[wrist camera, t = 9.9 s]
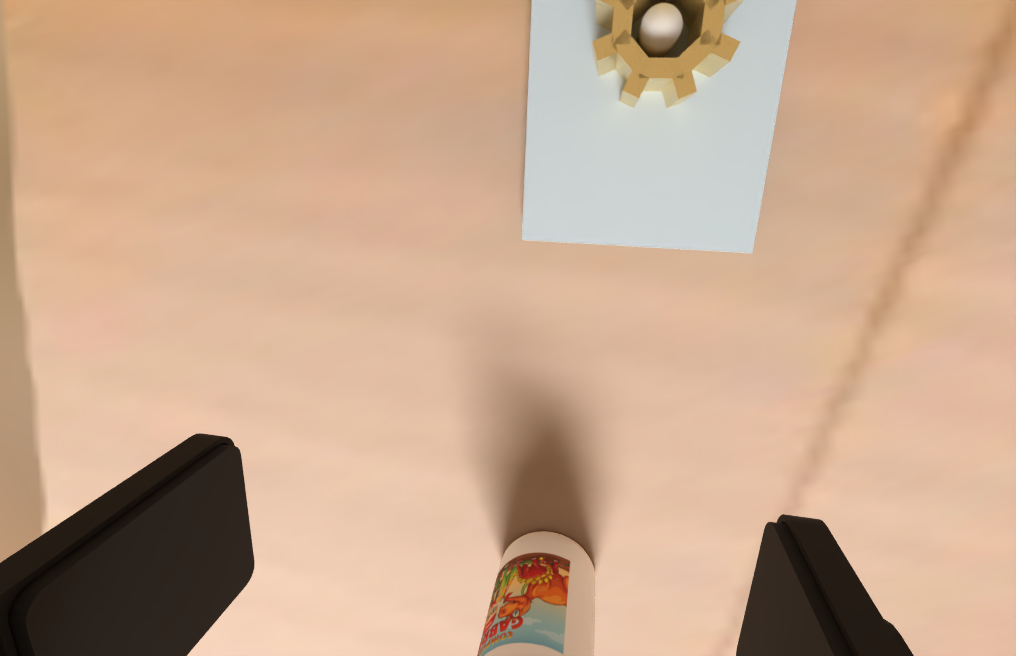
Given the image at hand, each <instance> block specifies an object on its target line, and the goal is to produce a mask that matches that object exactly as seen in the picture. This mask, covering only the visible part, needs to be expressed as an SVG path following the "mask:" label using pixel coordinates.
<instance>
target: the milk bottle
mask: <svg viewBox="0 0 1016 656" xmlns="http://www.w3.org/2000/svg"><path fill="white" fill-rule="evenodd" d="M594 626H595V571H594V567H593V564H592V562H591V560H590V558H589V556H588V555H587V553H586V552H585V551H584V549H583V548H582V547H581V546H580V545H579V544H578V543H576V542H575V541H573V540H572V539H570V538H568V537H566V536H564V535H562V534H558V533H554V532H547V531H540V532H532V533H528V534H525V535H523V536H521V537H519V538H518V539H517V540H515V541H514V542H513V543H512V544H511V545H510V546H509V547H508V548H507V549H506V551H505V553H504V555H503V558H502V561H501V564H500V568H499V572H498V575H497V579H496V583H495V587H494V591H493V595H492V599H491V603H490V607H489V610H488V614H487V618H486V622H485V626H484V630H483V635H482V639H481V643H480V647H479V651H478V655H477V656H594Z"/></svg>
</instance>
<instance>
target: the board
mask: <svg viewBox="0 0 1016 656" xmlns="http://www.w3.org/2000/svg"><path fill="white" fill-rule="evenodd" d="M796 1H797V0H744V1H743V2H742V3H741V4H740V6H739V7H738V8H737V9H736V10H735V11H734V12H733V14H732V15H731V16H730V17H729V18H728V19H727V21H726V22H725V23H724V24H723V26H722V33H723V34H725V35H727V36H730V37H732V38H734V39H736V40H738V41H740V44H739V46H738V48H737V50H736V52H735V54H734V55H733V57H732V59H731V61H730V62H729V63H728V64H727V65H725V66H724V67H723V68H722V69H720V70H719V71H718V72H716V73H715V74H714V75H713V76H711V77H707V76H705V75H703V74H701V73H699V72H697V71H695V70H694V71H693V72H692V74H693V78H694V82H695V86H696V89H697V92H696V93H695V94H693V95H692V96H691V97H689V98H688V99H687V100H685V101H684V102H683V103H680V104H678V105H675V106H673V107H670V108H668V109H667V108H666V105H665V101H664V98H663V94H662V92H656V91H643V92H642V94H641V96H640V98H639V100H638V101H637V103H636V105H635V107H634V108H632V107H630V106H628V105H626V104H624V103H622V102H620V98H621V94H622V91H623V89H624V86H625V84H626V82H625V81H624V79H623V78H622V77H621V76H620V74H619V73H618V72H617V71H616V70H613V71H611V72H608V73H606V74H603V75H601V76H598V73H597V69H596V66H595V63H594V57H593V47H592V42H593V41H595V40H597V39H599V38H602V37H604V36H606V35H608V34H611V33H612V31H610V30H608V29H606V28H604V27H602V26H600V25H598V24H597V23H596V3H595V0H532V7H531V32H530V56H529V81H528V105H527V130H526V154H525V178H524V203H523V227H522V240H531V241H548V242H565V243H583V244H600V245H617V246H634V247H651V248H669V249H686V250H703V251H720V252H737V253H753V247H754V242H755V236H756V230H757V224H758V219H759V213H760V207H761V202H762V196H763V190H764V184H765V179H766V173H767V167H768V161H769V156H770V150H771V144H772V138H773V133H774V127H775V121H776V116H777V110H778V104H779V98H780V93H781V87H782V81H783V75H784V70H785V64H786V58H787V53H788V47H789V41H790V35H791V30H792V24H793V18H794V12H795V7H796ZM688 30H689V29H688V27H687V26H686V25H685V24H684V22H683V20H682V16H681V13H680V12H679V10H678V9H677V8H676V7H675V6H673V5H671V4H668V3H660V4H657V5H655V6H653V7H651V8H650V9H649V10H648V11H647V12H646V13H645V14H644V15H643V16H642V17H641V18H640V19H639V20H638V21H637V22H636V23H635V24H634V25H633V26H632V29H631V36H632V38H633V39H634V40H635V41H636V43H637V44H638V45H639V46H640V47H641V49H642V50H643V51H644V52H645V54H646V55H647V56H648V57H649V58H678V57H679V56H680V55H681V54H682V53H683V52H684V51H685V50H686V47H687V38H688Z"/></svg>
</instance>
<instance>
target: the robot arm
mask: <svg viewBox="0 0 1016 656" xmlns="http://www.w3.org/2000/svg"><path fill="white" fill-rule="evenodd" d="M253 570H254V555H253V547H252V539H251V531H250V523H249V515H248V507H247V499H246V491H245V483H244V475H243V467H242V459H241V453H240V450H239V449H238V447H235V446H234V443H233V441H232V440H231V439H230V438H228V437H223V436H216V435H208V434H195V435H193V436H191V437H190V438H188V439H187V440H185V441H184V442H182V443H181V444H179V445H177V446H176V447H174V448H173V449H171V450H170V451H168V452H167V453H165V454H164V455H162V456H161V457H159V458H158V459H156V460H155V461H153V462H152V463H150V464H149V465H147V466H146V467H144V468H143V469H141V470H140V471H138V472H137V473H135V474H134V475H132V476H131V477H129V478H128V479H126V480H125V481H123V482H122V483H120V484H119V485H117V486H116V487H114V488H113V489H111V490H110V491H108V492H107V493H105V494H104V495H102V496H101V497H99V498H97V499H96V500H94V501H93V502H91V503H90V504H88V505H87V506H85V507H84V508H82V509H81V510H79V511H78V512H76V513H75V514H73V515H72V516H70V517H69V518H67V519H66V520H64V521H63V522H61V523H60V524H58V525H57V526H55V527H54V528H52V529H51V530H49V531H48V532H46V533H45V534H43V535H42V536H40V537H39V538H37V539H36V540H34V541H33V542H31V543H30V544H28V545H27V546H25V547H24V548H22V549H21V550H19V551H18V552H16V553H15V554H13V555H11V556H10V557H8V558H7V559H6V560H4V561H2V562H1V563H0V656H187V655H188V653H189V652H190V651H191V650H192V649H193V647H194V646H195V645H196V644H197V643H198V642H199V640H200V639H201V638H202V637H203V636H204V635H205V633H206V632H207V631H208V630H209V629H210V627H211V626H212V625H213V624H214V623H215V622H216V620H217V619H218V618H219V617H220V616H221V614H222V613H223V612H224V611H225V610H226V609H227V607H228V606H229V605H230V604H231V603H232V601H233V600H234V599H235V598H236V597H237V596H238V594H239V593H240V592H241V591H242V590H243V589H244V587H245V586H246V585H247V583H248V582H249V580H250V578H251V576H252V573H253ZM736 656H914V655H913V654H912V652H911V651H910V649H909V647H908V646H907V644H906V643H905V641H904V639H903V638H902V636H901V635H900V633H899V632H898V631H897V630H896V628H895V627H894V626H893V625H892V624H891V623H889V622H888V621H886V620H885V619H883V617H882V616H881V614H880V612H879V611H878V609H877V608H876V606H875V604H874V603H873V601H872V599H871V598H870V596H869V594H868V593H867V591H866V589H865V588H864V586H863V585H862V583H861V581H860V580H859V578H858V576H857V575H856V573H855V571H854V570H853V568H852V567H851V565H850V563H849V562H848V560H847V558H846V557H845V555H844V553H843V552H842V550H841V549H840V547H839V545H838V544H837V542H836V540H835V539H834V537H833V535H832V534H831V532H830V530H829V529H828V527H827V526H826V524H825V523H824V522H823V521H822V520H819V519H812V518H805V517H798V516H791V515H784V514H783V515H781V516H780V517H779V519H778V521H777V523H774V522H768V523H767V524H766V526H765V529H764V533H763V538H762V542H761V546H760V551H759V555H758V559H757V564H756V568H755V572H754V577H753V581H752V585H751V589H750V594H749V598H748V602H747V607H746V611H745V615H744V620H743V624H742V628H741V633H740V637H739V641H738V646H737V652H736Z"/></svg>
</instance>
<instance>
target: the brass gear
mask: <svg viewBox="0 0 1016 656" xmlns="http://www.w3.org/2000/svg"><path fill="white" fill-rule="evenodd" d="M743 1H744V0H595V3H596V23H597V24H598V25H600V26H602V27H604V28H606V29H608V30H610V31H612V33H611V34H608V35H606V36H604V37H602V38H599V39H597V40H595V41H593V42H592V47H593V57H594V63H595V66H596V69H597V73H598V76H601V75H603V74H606V73H608V72H611V71H613V70H616V71H617V72H618V73H619V74H620V76H621V77H622V78H623V79H624V81H625V82H626V84H625V86H624V89H623V91H622V94H621V98H620V102H622V103H624V104H626V105H628V106H630V107H632V108H634V107H635V105H636V103H637V101H638V100H639V98H640V96H641V94H642V92H643V91H656V92H662V94H663V98H664V101H665V105H666V108H667V109H668V108H670V107H673V106H675V105H678V104H680V103H683V102H684V101H685V100H687V99H688V98H689V97H691V96H692V95H693V94H695V93H696V92H697V89H696V86H695V82H694V78H693V74H692V72H693V71H694V70H695V71H697V72H699V73H701V74H703V75H705V76H707V77H711V76H713V75H714V74H715V73H716V72H718V71H719V70H720V69H722V68H723V67H724V66H725V65H727V64H728V63H729V62H730V61H731V59H732V57H733V55H734V54H735V52H736V50H737V48H738V46H739V44H740V41H738V40H736V39H734V38H732V37H730V36H727V35H725V34H723V33H722V26H723V24H724V23H725V22H726V21H727V19H728V18H729V17H730V16H731V15H732V14H733V12H734V11H735V10H736V9H737V8H738V7H739V6H740V4H741V3H742V2H743ZM660 3H668V4H671V5H673V6H675V7H676V8H677V9H678V10H679V12H680V13H681V16H682V20H683V22H684V24H685V25H686V26H687V27H688V29H689V30H688V38H687V47H686V50H685V51H684V52H683V53H682V54H681V55H680V56H679V57H678V58H649V57H648V56H647V55H646V54H645V52H644V51H643V50H642V49H641V47H640V46H639V45H638V44H637V43H636V41H635V40H634V39H633V38H632V36H631V29H632V26H633V25H634V24H635V23H636V22H637V21H638V20H639V19H640V18H641V17H642V16H643V15H644V14H645V13H646V12H647V11H648V10H649V9H650V8H651V7H653V6H655V5H657V4H660Z"/></svg>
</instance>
